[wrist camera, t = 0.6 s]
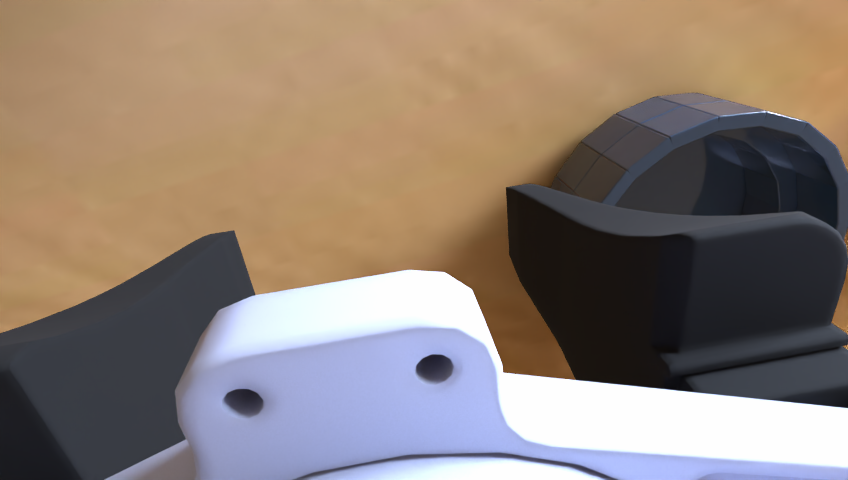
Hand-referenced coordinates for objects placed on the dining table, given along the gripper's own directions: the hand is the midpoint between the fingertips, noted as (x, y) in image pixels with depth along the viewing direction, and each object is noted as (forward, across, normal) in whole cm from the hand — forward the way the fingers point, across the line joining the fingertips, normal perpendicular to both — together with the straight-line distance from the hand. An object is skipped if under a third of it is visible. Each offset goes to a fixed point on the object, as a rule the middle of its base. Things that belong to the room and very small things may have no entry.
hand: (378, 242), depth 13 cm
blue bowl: (+10, -14, +6) cm, 18 cm away
